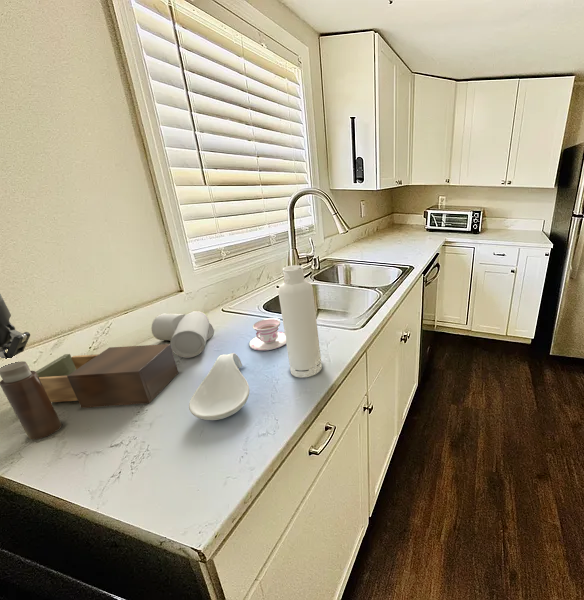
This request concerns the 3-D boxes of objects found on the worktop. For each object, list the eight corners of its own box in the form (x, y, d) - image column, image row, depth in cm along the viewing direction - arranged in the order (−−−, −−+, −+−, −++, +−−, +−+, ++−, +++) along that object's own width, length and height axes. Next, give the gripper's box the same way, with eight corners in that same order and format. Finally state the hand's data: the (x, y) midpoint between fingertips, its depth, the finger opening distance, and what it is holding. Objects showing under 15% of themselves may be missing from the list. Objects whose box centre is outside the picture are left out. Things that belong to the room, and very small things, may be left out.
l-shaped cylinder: (235, 328, 108) (179, 326, 110) (224, 302, 102) (166, 300, 104) (203, 366, 93) (140, 363, 96) (188, 339, 88) (121, 336, 90)
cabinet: (81, 408, 73) (66, 376, 70) (120, 376, 85) (109, 347, 82) (149, 403, 75) (138, 371, 72) (178, 372, 86) (170, 343, 83)
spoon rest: (250, 420, 69) (244, 392, 66) (187, 436, 65) (178, 406, 62) (255, 364, 90) (250, 341, 87) (207, 373, 86) (201, 349, 83)
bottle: (285, 369, 87) (268, 268, 77) (311, 357, 93) (299, 261, 82) (300, 381, 82) (284, 274, 72) (327, 368, 87) (316, 267, 77)
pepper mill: (21, 440, 65) (-16, 374, 59) (43, 423, 69) (11, 360, 63) (47, 438, 65) (13, 372, 59) (68, 421, 69) (38, 358, 64)
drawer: (12, 408, 72) (-2, 382, 70) (57, 378, 83) (46, 355, 81) (97, 402, 74) (86, 376, 72) (131, 373, 85) (122, 350, 82)
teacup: (266, 331, 109) (263, 314, 106) (297, 335, 106) (295, 318, 103) (240, 348, 98) (236, 330, 96) (275, 353, 95) (271, 334, 93)
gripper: (26, 294, 73) (57, 361, 79) (-38, 298, 72) (-2, 365, 78) (-10, 307, 66) (28, 379, 72) (-82, 311, 65) (-38, 383, 71)
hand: (12, 371), depth 75 cm, fingers closed
